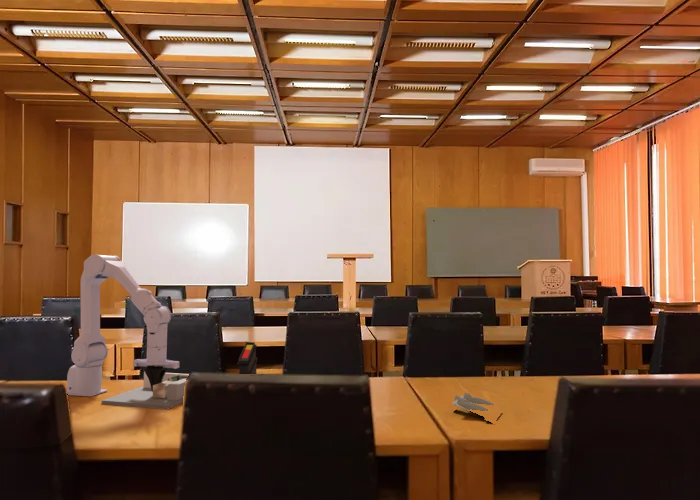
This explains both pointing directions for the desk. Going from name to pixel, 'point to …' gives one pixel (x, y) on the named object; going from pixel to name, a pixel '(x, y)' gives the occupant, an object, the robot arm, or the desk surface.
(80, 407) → the desk surface
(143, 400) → the gauge board
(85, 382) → the robot arm
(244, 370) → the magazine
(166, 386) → the block
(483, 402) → the grey angular piece
